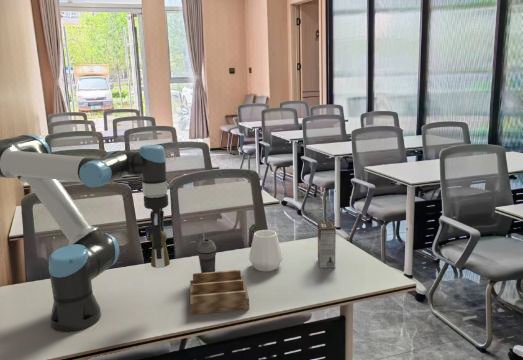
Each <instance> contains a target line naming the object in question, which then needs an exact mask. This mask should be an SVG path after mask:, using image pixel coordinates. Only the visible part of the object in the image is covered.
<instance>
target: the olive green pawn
mask: <svg viewBox="0 0 523 360" xmlns="http://www.w3.org/2000/svg"><path fill="white" fill-rule="evenodd" d="M167 237H168V236H167V233H166V232H165V231H162V246H163V252H164V266H165V267H168V266H169V265H171V262H170V258H169V251H168V248H167V243H166V241H167V240H168V239H167ZM149 239H150V242H151V243H152V247H154V244H153V232H151V234H150V238H149ZM152 247H151V259H150V260H151V261H150V262H151V263H150V266H151V267H152V268H155V269H157V268H156V264H155V252H154V249H152ZM165 267H164V268H165Z"/></svg>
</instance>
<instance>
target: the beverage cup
mask: <svg viewBox="0 0 523 360" xmlns="http://www.w3.org/2000/svg"><path fill="white" fill-rule="evenodd" d="M201 233H202V238H203V240H201V241H200V242H199V243H198V245H197V249H196V252H197V256H198V260H199V266H200V267H199V268H200V273H207V272H216V255H217V246H216V244H215V242H214V241H213V240H212V239H207V238H206V237H205V232H204V228H201ZM205 238H206V239H205Z"/></svg>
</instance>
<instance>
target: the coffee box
mask: <svg viewBox="0 0 523 360" xmlns="http://www.w3.org/2000/svg"><path fill="white" fill-rule="evenodd" d="M336 235H337V234H336V227H335V223H334V221H318V222H317V260H318V264H319V268H320V267H321V268H320V269H324V268H323V267H335V268H336V243H337V242H336Z"/></svg>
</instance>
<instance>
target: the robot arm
mask: <svg viewBox="0 0 523 360" xmlns="http://www.w3.org/2000/svg"><path fill="white" fill-rule="evenodd" d="M165 152H166V151H165V148H164V147H163V146H162V145H160V144H146V145H141V146H140V147H139V151H129V150H126V151H125V150H113V151H111V150H110V151H108V152H107V153H106V155H105V156H104V157H99V158H96V157H87V156H77V155H76V156H74V155H67V154H66V155H64V154H54V153H51V149H50V147H49V145H48V143H47V142H46V141H45V139H43V138H42V137H40V136H39V135H34V134H22V135H17V136H14V137H9V138H4V139H0V178H6V179H15V178H17V179H18V180H19V182H21V183H26V184H27V185H28V186H29V187H30V189H31V190H32V191H33V193H34V195H36V197H37V199H39V201H40V202H41V204H42V205H43V207H44V208H45V209H46V210H47V212H48V213H49V215H50V216H51V218H52V219H53V220H54V222H55V224H57V226H58V228H60V230H61V232H62V233H63V235H64V236H65V237H66V238H67V240H68V245H66V246H62V247H60V248H58V249H56V250H54V251H53V252H52V253H51V254H50V256H49V258H48V272H49V273H48V274H49V278H50V283H51V284H50V285H51V291H52V297H53V304H52V308H51V313H50V318H49V319H50V327H51V328H52V329H53V330H55V331H58V332H74V331H76V332H77V331H80V330H83V329H86V328H89V327H91V326H93V325H94V324H96V323H97V322H98V321H99V320H100V318H101V317H102V312H101V306H100V305H99V303H98V301H97V299H96V297H95V295H94V292H93V285H92V280H93V279H95V278H96V277H98V276H99V275H101V274H102V273H104V272H105V271H107V270H109V269H110V268H112V266H113V265H115V263H116V262H117V261H118V259H119V257H120V247H119V244H118V243H119V242H118V241H117V239H116V238H115V237H114V236H113V235H111V234H108V233H107V232H105V233H104V232H103V231H102V230H101V229H100V227H98V226H92V224H91V223H90V222H89V220H88V219H87V218H86V216H85V214H84V213H83V212H82V210H81V209H80V208H79V206H78V205H77V204H76V202H75V201H74V199H73V198H72V197H71V195H70V194H69V192H68V191H67V190H66V188H65V187H64V186H63V184H62V183H61V181H64V182H75V183H82V184H83V185H85V186H86V187H88V188H91V189H93V188H94V189H95V188H98V187H104V186H105V185H107V184H109V183H111V182H115V181H116V180H119V179H122V178H124V177H126V176H135V177H136V176H137V177H138V176H141V181H142V182H141V185H142V194H143V206H144V208H145V209H148V210H152V211H150V215H149V217H150V220H151V228H152V233H153V244H154V247H151V250H152V249H154V252H155V264H156V268H155V269H161V268H165V266H164V252H163V246H162V231H164V230H165V229H164V222H165V221H164V218H165V217H164V215H165V211H164V210H163V209H165V208H166V207H168V206H169V194H167V193H168V187H169V186H170V184H169V183H167V182H168V181H167V180H168V179H167V166H166V165H167V163H166V162H167V159H166V153H165ZM164 232H165V231H164Z"/></svg>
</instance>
